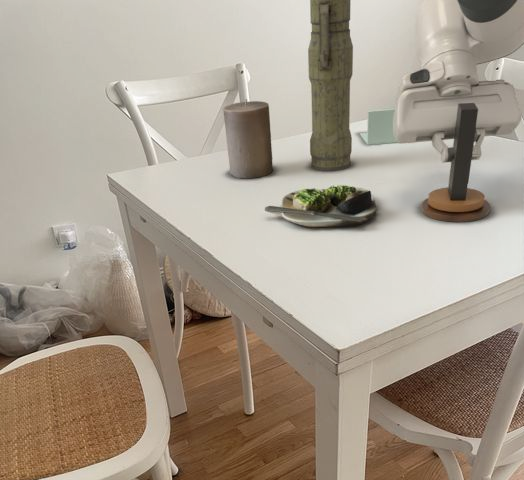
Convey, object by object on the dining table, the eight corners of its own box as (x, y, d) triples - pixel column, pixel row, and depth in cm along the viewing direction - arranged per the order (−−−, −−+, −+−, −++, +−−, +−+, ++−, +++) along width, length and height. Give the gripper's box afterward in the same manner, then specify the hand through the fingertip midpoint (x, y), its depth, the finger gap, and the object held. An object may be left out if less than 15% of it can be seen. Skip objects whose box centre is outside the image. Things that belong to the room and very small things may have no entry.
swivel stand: (486, 199, 95) (487, 193, 94) (492, 222, 86) (493, 216, 86) (421, 198, 98) (421, 193, 97) (420, 221, 89) (421, 215, 88)
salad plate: (263, 236, 89) (261, 209, 86) (267, 199, 104) (265, 175, 101) (381, 230, 87) (383, 202, 85) (369, 193, 102) (370, 169, 99)
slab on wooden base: (426, 194, 96) (435, 101, 87) (480, 193, 94) (494, 99, 85) (429, 212, 89) (439, 113, 80) (487, 212, 87) (504, 111, 78)
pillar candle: (279, 166, 122) (275, 94, 113) (263, 179, 114) (258, 103, 106) (240, 165, 125) (233, 94, 116) (222, 178, 118) (213, 104, 109)
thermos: (353, 157, 123) (356, -30, 103) (348, 172, 114) (351, -30, 94) (314, 157, 125) (310, -26, 105) (307, 173, 116) (301, -25, 96)
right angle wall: (405, 129, 140) (407, 98, 136) (417, 140, 131) (419, 107, 126) (359, 133, 141) (360, 102, 137) (367, 144, 131) (368, 111, 127)
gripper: (504, 91, 93) (517, 164, 90) (386, 102, 94) (395, 174, 91) (520, 65, 87) (535, 142, 84) (393, 77, 87) (404, 154, 85)
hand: (461, 159), depth 87 cm, fingers closed on slab on wooden base, 3 cm apart
